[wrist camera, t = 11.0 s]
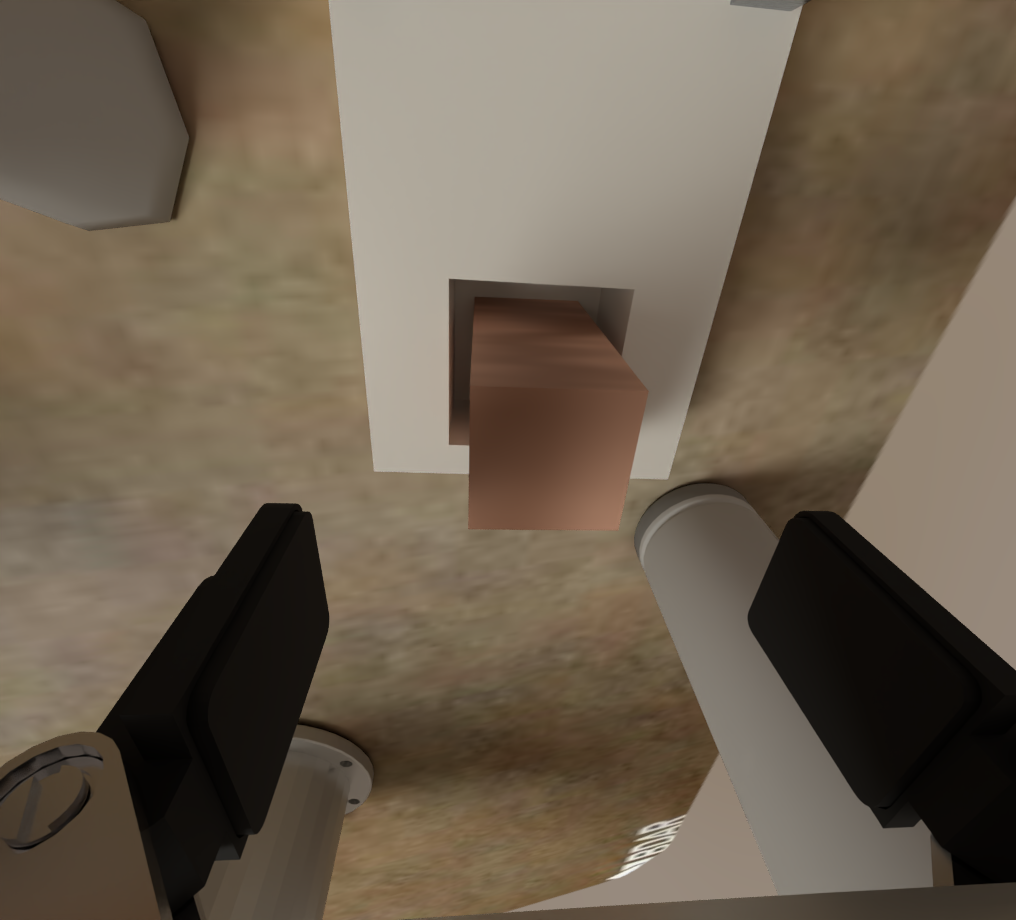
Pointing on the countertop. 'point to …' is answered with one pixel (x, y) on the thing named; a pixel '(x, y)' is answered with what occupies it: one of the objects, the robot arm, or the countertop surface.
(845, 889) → the travel mug
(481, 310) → the peg
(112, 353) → the countertop surface
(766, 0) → the street lamp
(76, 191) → the flask
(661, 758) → the countertop surface
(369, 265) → the socket block
